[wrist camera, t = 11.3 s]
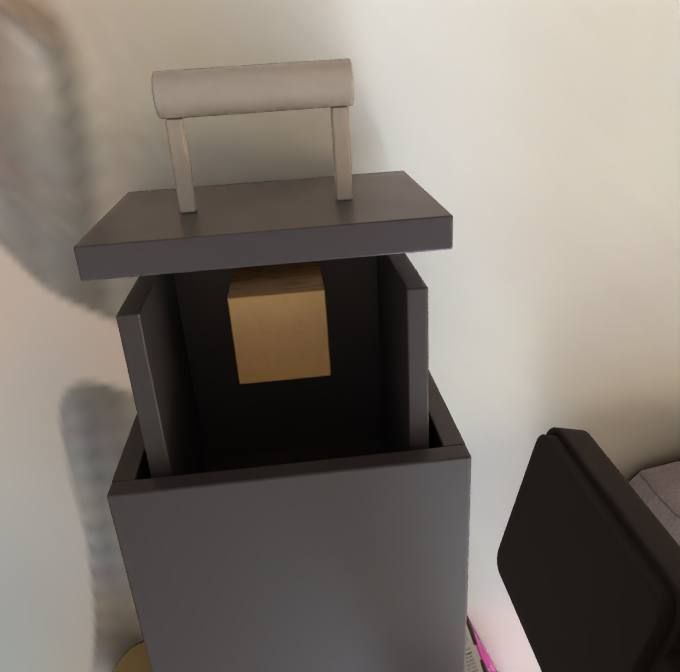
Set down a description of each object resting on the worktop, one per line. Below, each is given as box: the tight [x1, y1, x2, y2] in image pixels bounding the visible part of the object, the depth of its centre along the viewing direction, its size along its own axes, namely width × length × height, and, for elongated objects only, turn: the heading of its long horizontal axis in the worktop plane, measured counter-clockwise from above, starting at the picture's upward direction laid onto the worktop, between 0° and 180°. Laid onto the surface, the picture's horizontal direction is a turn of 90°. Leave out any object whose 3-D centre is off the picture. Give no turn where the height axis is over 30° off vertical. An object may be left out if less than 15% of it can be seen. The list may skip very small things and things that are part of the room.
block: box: [227, 261, 331, 384], centre depth 29 cm, size 4×4×4 cm
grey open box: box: [107, 370, 471, 672], centre depth 32 cm, size 16×14×11 cm
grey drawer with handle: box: [74, 59, 453, 478], centre depth 27 cm, size 20×13×9 cm, turn 3°
